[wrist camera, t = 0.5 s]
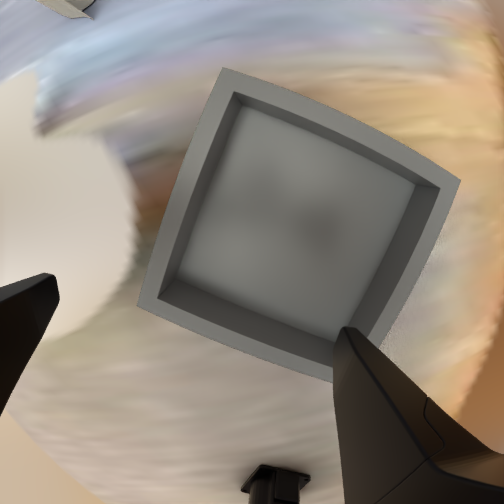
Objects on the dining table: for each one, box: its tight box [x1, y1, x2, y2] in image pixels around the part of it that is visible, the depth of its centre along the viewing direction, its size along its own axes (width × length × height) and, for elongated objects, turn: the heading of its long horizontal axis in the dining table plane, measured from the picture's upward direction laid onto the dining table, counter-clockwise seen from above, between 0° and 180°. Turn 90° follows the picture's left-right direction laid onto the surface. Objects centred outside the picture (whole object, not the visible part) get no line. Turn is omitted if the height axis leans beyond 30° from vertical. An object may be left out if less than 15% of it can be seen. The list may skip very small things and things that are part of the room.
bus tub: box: [137, 68, 461, 383], centre depth 21 cm, size 16×16×5 cm
